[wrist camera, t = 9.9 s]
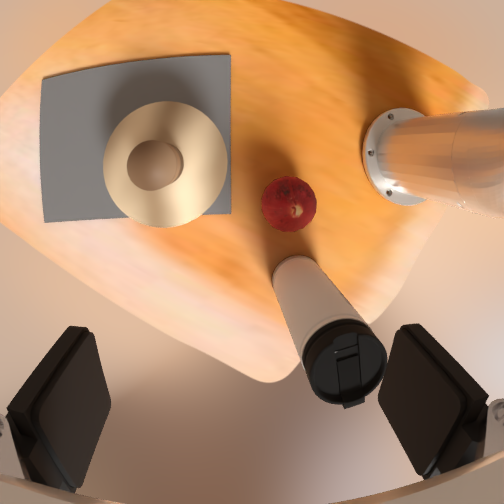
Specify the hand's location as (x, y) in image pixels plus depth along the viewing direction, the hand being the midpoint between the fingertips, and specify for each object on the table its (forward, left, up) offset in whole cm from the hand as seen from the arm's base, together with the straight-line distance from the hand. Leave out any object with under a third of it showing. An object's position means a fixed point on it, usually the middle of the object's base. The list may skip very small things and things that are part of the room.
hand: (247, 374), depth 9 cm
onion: (-6, -1, -30) cm, 30 cm away
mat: (+12, -9, -30) cm, 33 cm away
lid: (+6, -6, -23) cm, 25 cm away
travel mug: (-8, +9, -30) cm, 32 cm away
